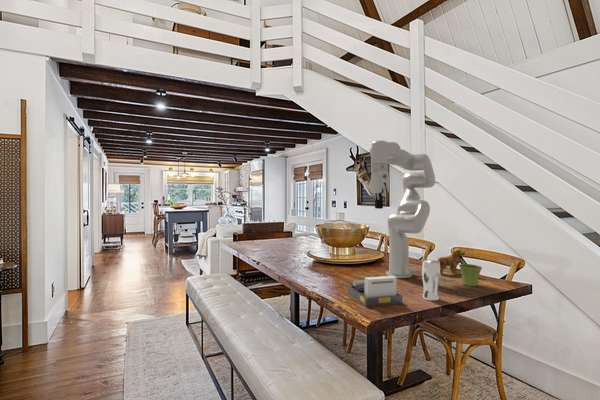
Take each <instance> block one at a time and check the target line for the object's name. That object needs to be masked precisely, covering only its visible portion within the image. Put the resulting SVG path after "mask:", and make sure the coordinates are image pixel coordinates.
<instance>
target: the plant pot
mask: <svg viewBox="0 0 600 400" xmlns="http://www.w3.org/2000/svg"><path fill="white" fill-rule="evenodd" d="M458 266H459V269H460V273H461V281H462V282H461V283H462V285H464V286H466V287H467V286H468V287H472V286H473V288H474V287H477V286H478V284H479V278H480V274H481V271H482V269H483V267H482V266H480V265H477V264H471V263H470V264H469V263H462V264H460V263H459V264H458Z"/></svg>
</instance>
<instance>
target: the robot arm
mask: <svg viewBox="0 0 600 400" xmlns="http://www.w3.org/2000/svg"><path fill="white" fill-rule="evenodd" d="M369 156H370V172H371V175H370V192H371V193H372V196H373V197H374V208H375V209H383V208H384V199H385V198H384V197H386V196H387V194H388V193H389V192H390V189H391V187H390V174H389V165H391V166H397V167H399V168H401V169H403V170H405V171H409V172H408V173H406V174H404V175H403V177H402V188H403V193H404V194H403V196H402V198H401V200H400V202H399V203H398V207H397V210H396V211H397V212H396V213H392V214H389V216H388V218H387V228H388V234H389V235H388V236H389V238H388V239H389V240H388V241H389V242H388V246H389V247H388V251H389V252H388V253H389V254H388V270H386V271H385V276H394V277H396V278H397V279H407V278H408V279H409V278H411V277H412V272H417V271H418V269H417V267H415V266H414V267H411V266H409V256H410V255H409V252H410V251H409V249H410V247H409V246H410V245H409V244H410V243H409V238H408V237H407V235H406V234H420V233H421V232H422V231H423V229H424V228H425V225H426V223H427V221H428V218H429V216H430V211H431V207H430V204H429V202H428V201H427V200H424V199H423V200H422V199H421V196H420V194H419V193H418V191H417V190H416V189H419V188H420V189H425V188H426V189H429V188H433V187H434V186H435V184H436V175H435V171H434V168H433V164H432V161H431V159H430V157H429V156H428V154H425V153H420V154H412V153H410V152H408V150H405V149H401V146H400V144H399V143H398V142H395V141H391V142H390V141H386V140H374V141H372V143H371V146H370V148H369ZM410 171H411V172H410ZM413 171H414V172H413ZM415 171H416V172H415ZM417 171H418V172H417ZM419 171H421V172H419Z"/></svg>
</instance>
